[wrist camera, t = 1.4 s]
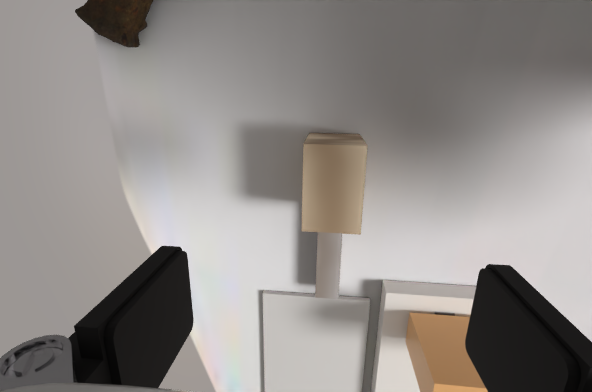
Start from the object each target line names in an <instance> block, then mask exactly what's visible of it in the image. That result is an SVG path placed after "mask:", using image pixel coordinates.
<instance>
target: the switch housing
mask: <svg viewBox="0 0 592 392" xmlns="http://www.w3.org/2000/svg"><path fill="white" fill-rule="evenodd" d="M475 290H476V286H465V285H450V284H436V283H421V282H406V281H391V280H383V283H382V292H381V302H380V311H379V320H378V330H377V339H376V348H375V358H374V367H373V376H372V386H371V392H420V389H419V386H418V382H417V379H416V376H415V372H414V369H413V366H412V362H411V359H410V355H409V352H408V349H407V345H406V342H405V341H406V334H407V327H408V320H409V313H422V314H435V315H448V316H461V317H470V315H471V310H472V305H473V300H474V295H475Z"/></svg>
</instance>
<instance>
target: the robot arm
mask: <svg viewBox="0 0 592 392" xmlns="http://www.w3.org/2000/svg"><path fill="white" fill-rule="evenodd" d="M192 327H193V311H192V300H191V290H190V279H189V269H188V259H187V253H186V252H185V251H182V249H181V248H180V247H174V246H161V247H160V248H159V249H158V250H157V251H156V252H155V253H153V254H152V255H151V256H150V257H149V258H148V259H147V260H146V261H145V262H144V263H143V264H142V265H140V266H139V267H138V268H137V269H136V270H135V271H134V272H133V273H132V274H131V275H130V276H129V277H127V278H126V279H125V280H124V281H123V282H122V283H121V284H120V285H119V286H117V287H116V288H115V289H114V290H113V291H112V292H111V293H110V294H109V295H108V296H107V297H105V298H104V299H103V300H102V301H101V302H100V303H99V304H98V305H97V306H96V307H94V308H93V309H92V310H91V311H90V312H89V313H88V314H87V315H86V316H85V317H84V318H82V319H81V320H80V321H79V322H78V323H77V324H76V325H75V326H74V328H75V333H73V334H72V335H71V336H70V337H69V338H66V337H65V336H60V335H47V336H42V337H38V338H34V339H32V340H29V341H27V342H24V343H22V344H20V345H18V346H16V347H15V348H13V349H11V350H10V351H8V352H7V353H6V354H4V355H3V356H2V357H1V358H0V392H194V391H182V390H172V389H160V388H158V387H159V385H160V384H161V382H162V381H163V379H164V377H165V375H166V373H167V372H168V370H169V368H170V367H171V365H172V363H173V362H174V360H175V358H176V356H177V355H178V353H179V351H180V349H181V348H182V346H183V344H184V342H185V341H186V339H187V337H188V336H189V334H190V332H191V330H192ZM465 347H466V351H467V354H468V356H469V358H470V359H471V361H472V363H473V365H474V367H475V369H476V371H477V373H478V374H479V376H480V378H481V380H482V382H483V384H484V386H485V387H486V389H487V391H488V392H592V342H591V341H590V340H589V339H588V338H587V337H586V336H584V335H583V334H582V333H581V332H580V331H579V330H578V329H577V328H576V327H575V326H574V325H573V324H572V323H571V322H570V321H569V320H568V319H566V318H565V317H564V316H563V315H562V314H561V313H560V312H559V311H558V310H557V309H556V308H555V307H554V306H553V305H552V304H551V303H550V302H548V301H547V300H546V299H545V298H544V297H543V296H542V295H541V294H540V293H539V292H538V291H537V290H536V289H535V288H534V287H533V286H531V285H530V284H529V283H528V282H527V281H526V280H525V279H524V278H523V277H522V276H521V275H520V274H519V273H518V272H517V271H516V270H515V269H513V268H512V267H511V266H510V265H493V264H489V265H487V266H486V268H485V269H481V270H480V272H479V276H478V281H477V286H476V290H475V295H474V300H473V305H472V310H471V315H470V319H469V324H468V329H467V334H466V339H465Z"/></svg>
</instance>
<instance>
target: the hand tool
mask: <svg viewBox="0 0 592 392" xmlns="http://www.w3.org/2000/svg"><path fill="white" fill-rule="evenodd" d="M152 2H153V0H88V1H87V2H86V3H85V5H84V6H82V7H80V8H78V9H76V10H75V12H76V13H77V15H78V16H79V17H80V18H81V19H82V20H83V21H84V22H85V23H87V24H88V25H89V26H90V27H91V28H92V29H93V30H94V31H95V32H96V33H98V34H99V35H101V36H104V37H106V38H108V39H110V40H112V41H113V42H117V43H119V44H121V45H123V46H127V47H138V46H139V45H140V43H139V38H138V33H139V32H140V31H142V30H143V29H145V28H146V27H147V23H146V21H145V19H146V16H147V14H148V12H149V9H150V7H151V4H152Z"/></svg>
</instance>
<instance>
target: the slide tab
mask: <svg viewBox="0 0 592 392" xmlns="http://www.w3.org/2000/svg"><path fill="white" fill-rule="evenodd" d="M469 319H470V317H461V316H448V315H435V314H422V313H409V320H408V327H407V334H406V341H405V342H406V345H407V349H408V352H409V355H410V359H411V362H412V366H413V369H414V372H415V376H416V379H417V382H418V386H419V389H420V392H488V391H487V389H486V387H485V386H484V384H483V382H482V380H481V378H480V376H479V374H478V373H477V371H476V369H475V367H474V365H473V363H472V361H471V359H470V358H469V356H468V354H467V351H466V347H465V339H466V334H467V329H468V324H469Z"/></svg>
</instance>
